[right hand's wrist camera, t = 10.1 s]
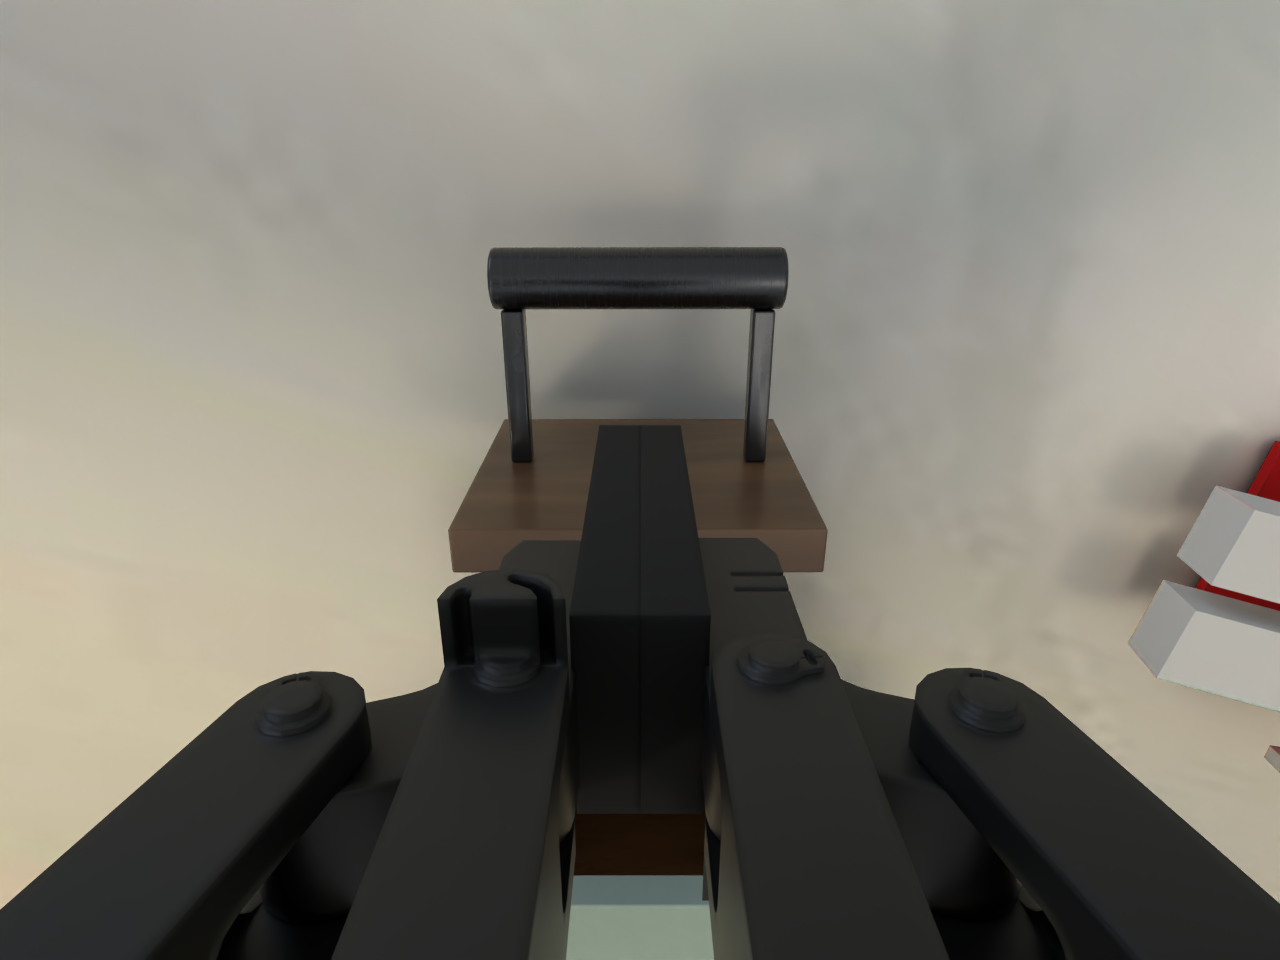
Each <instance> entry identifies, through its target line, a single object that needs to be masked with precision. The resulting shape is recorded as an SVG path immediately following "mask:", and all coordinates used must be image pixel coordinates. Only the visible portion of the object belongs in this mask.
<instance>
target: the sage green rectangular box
mask: <svg viewBox="0 0 1280 960" xmlns="http://www.w3.org/2000/svg"><path fill="white" fill-rule="evenodd" d="M702 892H703V875H574V877H573V888H572V899H571V910H570V921H569V932H568V943H567V954H566V960H714V953H713V942H712V931H711V920H710V909H709V901H702Z"/></svg>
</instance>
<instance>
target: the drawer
mask: <svg viewBox="0 0 1280 960" xmlns="http://www.w3.org/2000/svg"><path fill="white" fill-rule="evenodd" d="M487 279H488V290H489V296H490V300H491V303H492V306H493V307H494V308H495V309H503V310H502V311H501V321H502V336H503V350H504V364H505V378H506V392H507V406H508V419H505V420H504V422H503V424H502V426H501V428H500V430H499V432H498V434H497V436H496V438H495V439H494V441H493V443H492V445H491V447H490V449H489V451H488V453H487V455H486V457H485V459H484V461H483V463H482V465H481V467H480V469H479V471H478V473H477V475H476V477H475V479H474V481H473V483H472V485H471V486H470V488H469V490H468V492H467V494H466V496H465V498H464V500H463V502H462V504H461V506H460V508H459V510H458V512H457V514H456V516H455V518H454V520H453V522H452V524H451V526H450V528H449V530H448V532H449V541H450V551H451V560H452V569H453V572H485V571H491V570H499V568H500V565H501V563H502V560H503V557H504V556H505V555H506V554H507V553H508V552H509V551H511V550H512V549H513V548H514V547H516V546H517V545H518V544H519V543H520V542H522V541H523V540H581V538H582V531H583V525H584V519H585V512H586V506H587V500H588V494H589V487H590V481H591V475H592V468H593V462H594V456H595V450H596V443H597V437H598V431H599V425H681V431H682V437H683V443H684V450H685V456H686V462H687V468H688V475H689V481H690V487H691V494H692V500H693V506H694V512H695V519H696V525H697V531H698V538H758V539H759V540H760V541H762V542H763V543H764V544H765V545H766V546H768V547H769V548H770V549H771V550H773V551H774V552H775V553H776V554H777V557H778V559H779V562H780V565H781V568H782V571H783V572H823V569H824V559H825V550H826V540H827V528H826V525H825V523H824V521H823V519H822V517H821V515H820V513H819V511H818V509H817V507H816V505H815V503H814V501H813V499H812V497H811V495H810V493H809V491H808V489H807V487H806V485H805V483H804V481H803V479H802V477H801V475H800V473H799V471H798V469H797V467H796V465H795V463H794V461H793V459H792V457H791V455H790V453H789V451H788V449H787V447H786V445H785V443H784V441H783V439H782V437H781V435H780V433H779V431H778V429H777V427H776V425H775V422H774V420H773V419H768V413H769V398H770V383H771V368H772V353H773V338H774V322H775V311H774V310H773V309H780V308H782V307H783V305H784V303H785V299H786V295H787V288H788V258H787V253H786V250H785V249H784V248H782V247H609V248H493V249H491V250H490V253H489V256H488V265H487ZM525 309H751V314H750V332H749V351H748V369H747V388H746V407H745V419H532V413H531V396H530V379H529V362H528V345H527V328H526V311H525ZM574 819H575V843H576V855H575V866H574V875H703V868H704V843H705V819H706V812H705V803H703V814H577V803H576V806H575V816H574Z"/></svg>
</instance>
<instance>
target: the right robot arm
mask: <svg viewBox="0 0 1280 960" xmlns="http://www.w3.org/2000/svg"><path fill="white" fill-rule="evenodd" d="M437 602H438V611H439V620H440V629H441V638H442V646H443V655H444V664H445V667H444V670H443V672H442V675H441V677H440V680H439V683H437V684H435V685H432V686H430V687H428V688H426V689H423V690H420V691H417V692H413V693H410V694H406V695H402V696H397V697H393V698H388V699H383V700H378V701H373V702H369V703H366V700H365V694H364V689H363V688H362V687H361V686H360V685H359V684H358V683H357V682H356V681H355V680H354V679H353V678H351V677H348V676H345V675H342V674H339V673H336V672H317V671H310V672H304V673H299V674H292V675H288V676H284V677H282V678H279V679H277V680H274V681H272V682H269V683H267V684H264V685H262V686H259V687H258V688H256V689H255V690H253V691H252V692H250V693H249V694H247V695H246V696H244V697H243V698H241V699H240V700H238V701H237V702H236V703H235V704H234V705H232V706H231V707H230V708H229V709H228V710H227V711H226V712H224V713H223V714H222V715H221V716H220V717H219V718H218V719H217V720H215V721H214V722H213V723H212V724H211V725H210V726H209V727H207V728H206V729H205V730H204V731H203V732H202V733H201V734H199V735H198V736H197V737H196V738H195V739H194V740H193V741H192V742H190V743H189V744H188V745H187V746H186V747H185V748H184V749H182V750H181V751H180V752H179V753H178V754H177V755H176V756H174V757H173V758H172V759H171V760H170V761H169V762H168V763H167V764H165V765H164V766H163V767H162V768H161V769H160V770H159V771H157V772H156V773H155V774H154V775H153V776H152V777H151V778H149V779H148V780H147V781H146V782H145V783H144V784H143V785H142V786H140V787H139V788H138V789H137V790H136V791H135V792H134V793H132V794H131V795H130V796H129V797H128V798H127V799H126V800H124V801H123V802H122V803H121V804H120V805H119V806H118V807H117V808H115V809H114V810H113V811H112V812H111V813H110V814H109V815H107V816H106V817H105V818H104V819H103V820H102V821H101V822H99V823H98V824H97V825H96V826H95V827H94V828H93V829H92V830H90V831H89V832H88V833H87V834H86V835H85V836H84V837H82V838H81V839H80V840H79V841H78V842H77V843H76V844H74V845H73V846H72V847H71V848H70V849H69V850H68V851H67V852H65V853H64V854H63V855H62V856H61V857H60V858H59V859H57V860H56V861H55V862H54V863H53V864H52V865H51V866H49V867H48V868H47V869H46V870H45V871H44V872H43V873H42V874H40V875H39V876H38V877H37V878H36V879H35V880H34V881H32V882H31V883H30V884H29V885H28V886H27V887H26V888H24V889H23V890H22V891H21V892H20V893H19V894H18V895H17V896H15V897H14V898H13V899H12V900H11V901H10V902H9V903H7V904H6V905H5V906H4V907H3V908H2V909H1V910H0V960H566V954H567V943H568V932H569V921H570V910H571V899H572V888H573V877H574V866H575V855H576V843H575V819H574V816H575V806H576V803H577V814H703V803H705V812H706V819H705V843H704V868H703V892H702V901H709V909H710V920H711V931H712V942H713V953H714V960H1280V904H1279V903H1278V902H1277V901H1276V900H1275V899H1274V898H1273V897H1271V896H1270V895H1269V894H1268V893H1267V892H1266V891H1265V890H1263V889H1262V888H1261V887H1260V886H1259V885H1258V884H1257V883H1255V882H1254V881H1253V880H1252V879H1251V878H1250V877H1249V876H1247V875H1246V874H1245V873H1244V872H1243V871H1242V870H1241V869H1239V868H1238V867H1237V866H1236V865H1235V864H1234V863H1232V862H1231V861H1230V860H1229V859H1228V858H1227V857H1226V856H1224V855H1223V854H1222V853H1221V852H1220V851H1219V850H1218V849H1216V848H1215V847H1214V846H1213V845H1212V844H1211V843H1210V842H1208V841H1207V840H1206V839H1205V838H1204V837H1203V836H1202V835H1200V834H1199V833H1198V832H1197V831H1196V830H1195V829H1194V828H1192V827H1191V826H1190V825H1189V824H1188V823H1187V822H1186V821H1184V820H1183V819H1182V818H1181V817H1180V816H1179V815H1177V814H1176V813H1175V812H1174V811H1173V810H1172V809H1171V808H1169V807H1168V806H1167V805H1166V804H1165V803H1164V802H1163V801H1161V800H1160V799H1159V798H1158V797H1157V796H1156V795H1155V794H1153V793H1152V792H1151V791H1150V790H1149V789H1148V788H1147V787H1145V786H1144V785H1143V784H1142V783H1141V782H1140V781H1139V780H1137V779H1136V778H1135V777H1134V776H1133V775H1132V774H1131V773H1129V772H1128V771H1127V770H1126V769H1125V768H1124V767H1122V766H1121V765H1120V764H1119V763H1118V762H1117V761H1116V760H1114V759H1113V758H1112V757H1111V756H1110V755H1109V754H1108V753H1106V752H1105V751H1104V750H1103V749H1102V748H1101V747H1100V746H1098V745H1097V744H1096V743H1095V742H1094V741H1093V740H1092V739H1090V738H1089V737H1088V736H1087V735H1086V734H1085V733H1084V732H1082V731H1081V730H1080V729H1079V728H1078V727H1077V726H1076V725H1074V724H1073V723H1072V722H1071V721H1070V720H1069V719H1067V718H1066V717H1065V716H1064V715H1063V714H1062V713H1061V712H1059V711H1058V710H1057V709H1056V708H1055V707H1054V706H1053V705H1051V704H1050V703H1049V702H1048V701H1047V700H1046V699H1045V698H1043V697H1042V696H1040V695H1039V694H1037V693H1036V692H1034V691H1033V690H1031V689H1030V688H1028V687H1027V686H1025V685H1024V684H1022V683H1020V682H1018V681H1015V680H1013V679H1010V678H1008V677H1005V676H1003V675H1000V674H998V673H995V672H991V671H986V670H985V671H984V670H981V669H973V668H946V669H943V670H940V671H937V672H934V673H931V674H928V675H927V676H926V677H925V678H924V679H923V680H922V681H921V682H920V683H919V684H918V685H917V688H916V694H915V700H913V699H908V698H903V697H899V696H894V695H889V694H884V693H879V692H875V691H872V690H868V689H864V688H861V687H857V686H855V685H853V684H851V683H848V682H846V681H844V680H842V679H840V676H839V674H838V671H837V669H836V666H835V664H834V663H833V662H832V660H831V659H830V658H829V656H828V655H827V653H826V652H825V651H823V650H822V649H820V648H819V647H817V646H816V645H814V644H812V643H811V642H809V641H807V638H806V635H805V633H804V630H803V627H802V624H801V621H800V619H799V616H798V613H797V610H796V607H795V604H794V602H793V599H792V596H791V593H790V591H789V590H788V585H787V582H786V579H785V576H783V571H782V568H781V565H780V562H779V559H778V557H777V554H776V553H775V552H774V551H773V550H771V549H770V548H769V547H768V546H766V545H765V544H764V543H763V542H762V541H760V540H759V539H758V538H698V531H697V525H696V519H695V512H694V506H693V500H692V494H691V487H690V481H689V475H688V468H687V462H686V456H685V450H684V443H683V437H682V431H681V425H599V431H598V437H597V443H596V450H595V456H594V462H593V468H592V475H591V481H590V487H589V494H588V500H587V506H586V512H585V519H584V525H583V531H582V538H581V540H523V541H522V542H520V543H519V544H518V545H517V546H516V547H514V548H513V549H512V550H511V551H509V552H508V553H507V554H506V555H505V556H504V557H503V560H502V563H501V565H500V568H499V570H491V571H485V572H482V573H478V574H475V575H471V576H468V577H465V578H463V579H461V580H459V581H458V582H456V583H454V584H452V585H450V586H449V587H447V588H446V590H445V591H444V592H443V593H442V594H441V596H440V597H439V598H438V599H437Z"/></svg>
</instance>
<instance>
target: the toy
mask: <svg viewBox="0 0 1280 960" xmlns="http://www.w3.org/2000/svg"><path fill="white" fill-rule="evenodd" d="M1177 556H1178V557H1179V558H1180V559H1181V560H1182V561H1183V562H1185V563H1186V564H1187V565H1188V566H1189V567H1190V568H1192V569H1193V570H1194V571H1195V572H1196V573H1197V574H1199V575H1200V576H1201V578H1200V580H1199V582H1198V584H1197V586H1196V587H1195V588H1192V587H1188V586H1185V585H1181V584H1177V583H1174V582H1170V581H1166V580H1163V581H1162V583H1161V584H1160V586H1159V588H1158V590H1157V592H1156V593H1155V595H1154V597H1153V599H1152V601H1151V602H1150V604H1149V606H1148V608H1147V610H1146V611H1145V613H1144V615H1143V617H1142V619H1141V620H1140V622H1139V624H1138V626H1137V627H1136V629H1135V631H1134V633H1133V635H1132V636H1131V638H1130V640H1129V642H1128V644H1129V646H1130V647H1131V648H1132V649H1133V650H1134V652H1135V653H1136V654H1137V655H1138V656H1139V658H1140V659H1141V660H1142V661H1143V663H1144V664H1145V665H1146V666H1147V667H1148V669H1149V670H1150V671H1151V672H1152V673H1153V675H1154V676H1155V677H1156V678H1158V679H1162V680H1165V681H1169V682H1173V683H1176V684H1180V685H1183V686H1187V687H1191V688H1194V689H1198V690H1202V691H1205V692H1209V693H1212V694H1216V695H1220V696H1223V697H1227V698H1231V699H1234V700H1238V701H1241V702H1245V703H1249V704H1252V705H1256V706H1259V707H1263V708H1267V709H1270V710H1274V711H1278V712H1280V442H1278V441H1275V443H1274V444H1273V446H1272V448H1271V450H1270V452H1269V454H1268V455H1267V457H1266V459H1265V461H1264V463H1263V465H1262V466H1261V468H1260V470H1259V472H1258V474H1257V476H1256V477H1255V479H1254V481H1253V483H1252V485H1251V487H1250V488H1249V490H1248V492H1247V493H1243V492H1240V491H1236V490H1232V489H1228V488H1224V487H1221V486H1217V485H1216V486H1215V488H1214V490H1213V491H1212V493H1211V495H1210V497H1209V499H1208V500H1207V502H1206V504H1205V506H1204V507H1203V509H1202V511H1201V513H1200V515H1199V516H1198V518H1197V520H1196V522H1195V524H1194V525H1193V527H1192V529H1191V531H1190V533H1189V534H1188V536H1187V538H1186V540H1185V542H1184V543H1183V545H1182V547H1181V549H1180V550H1179V552H1178V554H1177ZM1264 758H1265V759H1266V760H1267V761H1268V762H1269V763H1270V764H1272V765H1273V766H1274V767H1275V768H1276V769H1277V770H1278V771H1279V772H1280V747H1277V746H1269V748H1268V750H1267V752H1266V754H1265V757H1264Z"/></svg>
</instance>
